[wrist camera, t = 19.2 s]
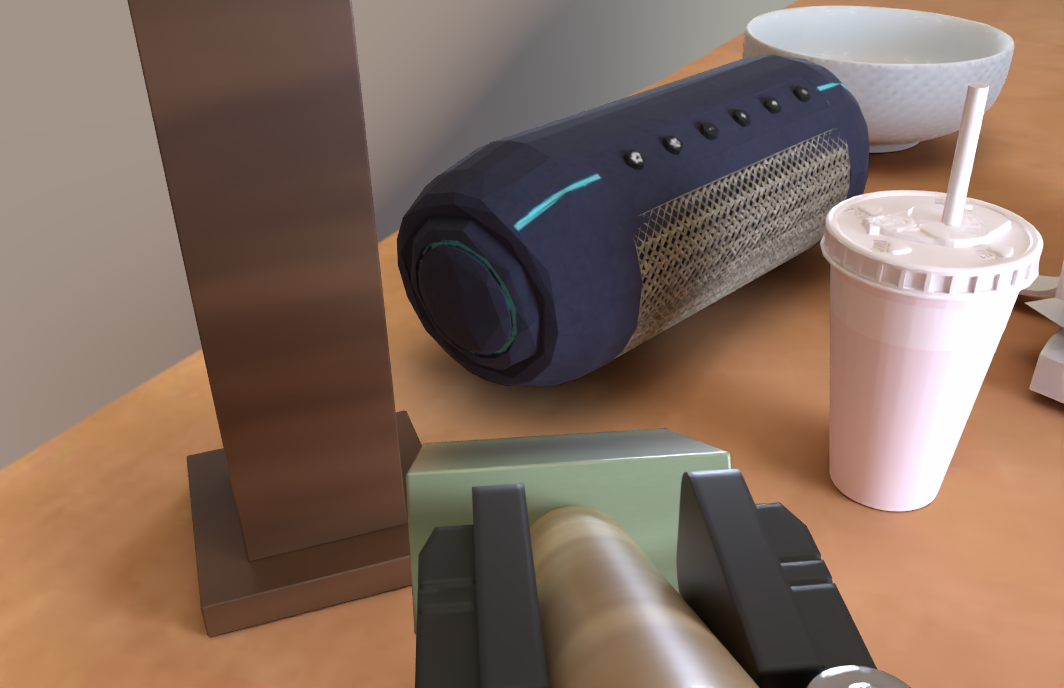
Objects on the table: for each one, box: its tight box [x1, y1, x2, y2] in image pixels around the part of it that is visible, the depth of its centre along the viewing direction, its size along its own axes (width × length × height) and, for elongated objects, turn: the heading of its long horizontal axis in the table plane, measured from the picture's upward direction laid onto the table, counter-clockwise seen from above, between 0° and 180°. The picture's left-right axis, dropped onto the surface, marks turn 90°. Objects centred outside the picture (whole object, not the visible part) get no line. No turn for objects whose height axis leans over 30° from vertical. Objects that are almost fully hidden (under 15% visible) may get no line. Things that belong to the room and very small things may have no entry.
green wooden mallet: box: [406, 428, 759, 688], centre depth 16 cm, size 16×6×3 cm
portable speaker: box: [397, 54, 869, 387], centre depth 45 cm, size 25×10×10 cm, turn 135°
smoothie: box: [820, 83, 1043, 511], centre depth 32 cm, size 6×6×14 cm
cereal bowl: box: [743, 6, 1014, 153], centre depth 66 cm, size 17×17×7 cm
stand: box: [128, 0, 422, 637], centre depth 25 cm, size 10×8×31 cm
